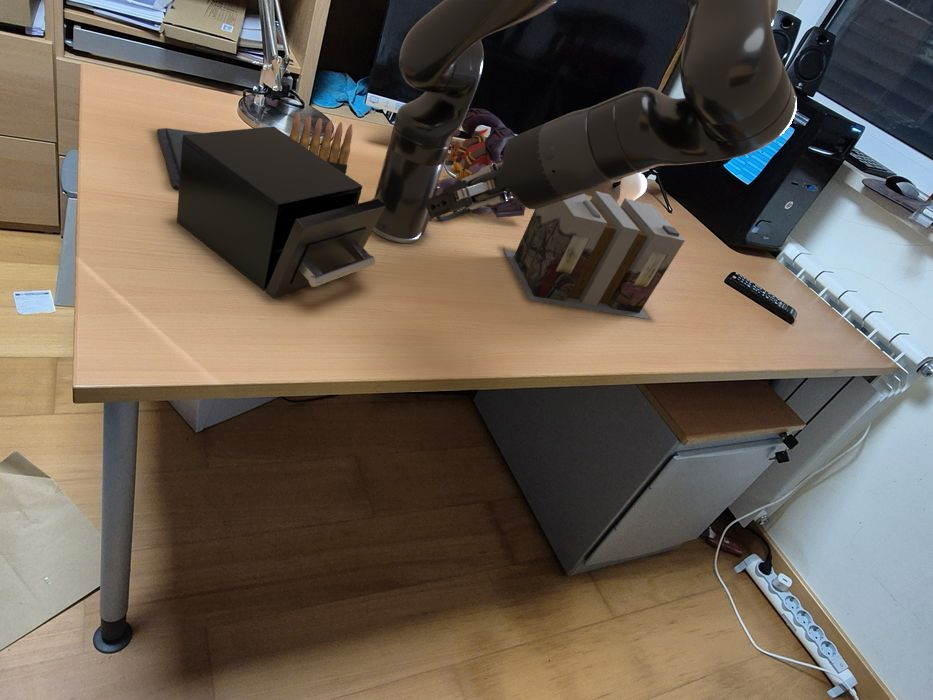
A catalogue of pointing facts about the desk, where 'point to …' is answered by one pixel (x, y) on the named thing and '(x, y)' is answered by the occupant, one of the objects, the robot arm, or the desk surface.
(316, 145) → the ammunition clip
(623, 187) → the lightbulb
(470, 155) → the figurine
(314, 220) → the oven door
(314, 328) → the desk surface
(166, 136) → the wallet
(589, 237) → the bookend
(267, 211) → the oven
